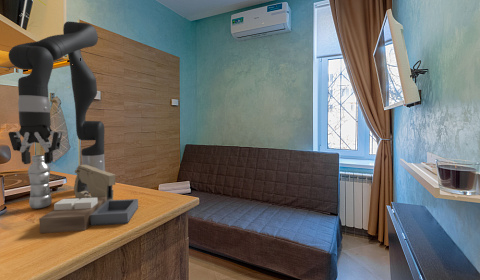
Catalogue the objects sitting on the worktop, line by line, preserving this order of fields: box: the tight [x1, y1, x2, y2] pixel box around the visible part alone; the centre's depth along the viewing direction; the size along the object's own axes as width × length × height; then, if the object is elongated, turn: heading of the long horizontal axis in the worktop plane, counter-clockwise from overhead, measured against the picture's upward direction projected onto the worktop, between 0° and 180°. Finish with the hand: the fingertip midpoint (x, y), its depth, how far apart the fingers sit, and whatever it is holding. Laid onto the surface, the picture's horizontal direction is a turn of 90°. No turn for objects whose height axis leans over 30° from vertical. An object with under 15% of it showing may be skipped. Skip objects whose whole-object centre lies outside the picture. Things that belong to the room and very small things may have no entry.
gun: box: [73, 164, 116, 200], centre depth 95 cm, size 24×3×15 cm, turn 62°
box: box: [90, 198, 139, 227], centre depth 81 cm, size 14×11×4 cm
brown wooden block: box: [38, 197, 107, 234], centre depth 78 cm, size 18×12×4 cm, turn 11°
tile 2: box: [74, 198, 98, 209], centre depth 78 cm, size 5×5×2 cm
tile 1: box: [53, 197, 79, 210], centre depth 77 cm, size 5×5×2 cm
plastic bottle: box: [27, 154, 53, 209], centre depth 88 cm, size 6×7×20 cm
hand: (37, 163), depth 75 cm, fingers open, 5 cm apart
